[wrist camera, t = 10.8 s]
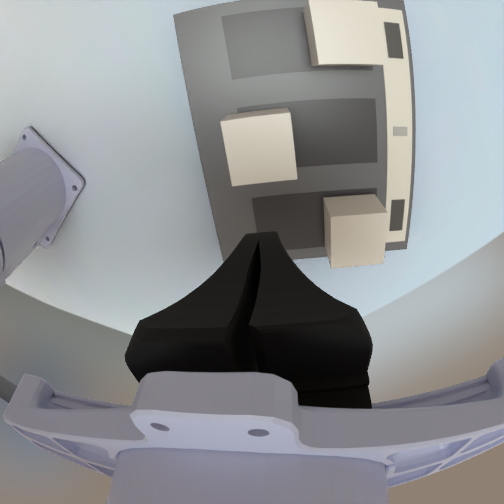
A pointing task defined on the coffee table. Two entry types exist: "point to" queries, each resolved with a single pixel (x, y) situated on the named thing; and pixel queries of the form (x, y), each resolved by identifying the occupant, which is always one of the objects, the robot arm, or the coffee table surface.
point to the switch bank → (300, 119)
